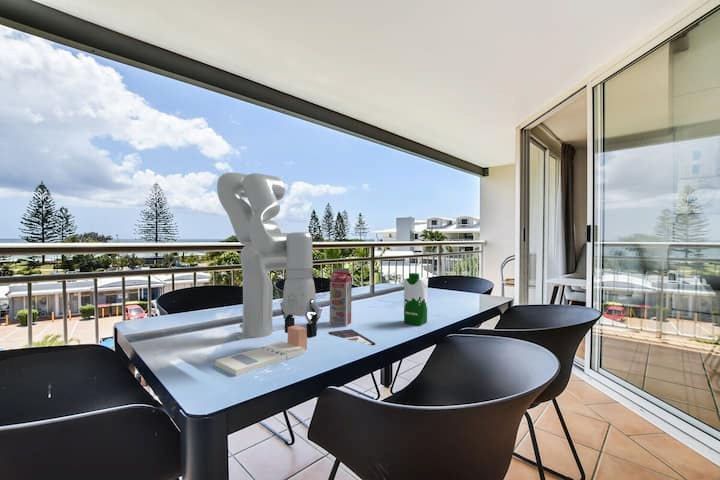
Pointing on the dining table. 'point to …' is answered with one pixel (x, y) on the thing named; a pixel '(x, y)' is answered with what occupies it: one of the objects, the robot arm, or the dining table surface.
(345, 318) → the juice carton
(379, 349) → the dining table surface
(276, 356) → the cream flat block
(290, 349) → the stub
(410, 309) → the milk carton
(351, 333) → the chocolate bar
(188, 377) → the dining table surface
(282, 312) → the robot arm
